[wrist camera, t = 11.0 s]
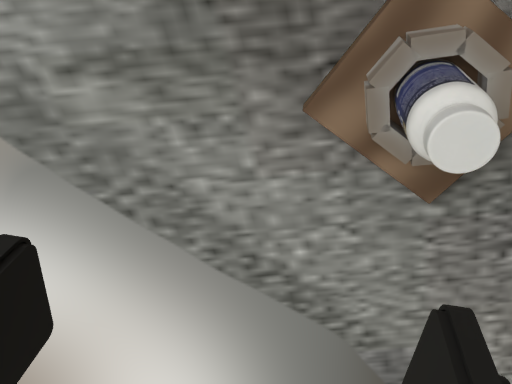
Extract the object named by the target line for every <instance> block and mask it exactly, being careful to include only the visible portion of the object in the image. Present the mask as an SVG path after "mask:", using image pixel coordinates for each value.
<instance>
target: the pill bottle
mask: <svg viewBox="0 0 512 384" xmlns="http://www.w3.org/2000/svg"><path fill="white" fill-rule="evenodd" d="M394 105H395V109H396V112H397V114H398V117H399V119H400V122H401V125H402V127H403V129H404V131H405V134H406V136H407V139H408V141H409V143H410V145H411V146H412V148H413V149H414V150H415V152H416V153H417V154H419V155H420V156H421V157H423V158H424V159H426V160H428V161H431V162H432V163H433V164H434V165H435V166H436V167H438V168H439V169H441V170H443V171H445V172H448V173H455V174H461V173H468V172H471V171H474V170H477V169H479V168H480V167H482V166H484V165H485V164H486V163H487V162H489V161H490V160H491V159H492V157H493V156H494V155H495V153H496V152H497V150H498V147H499V144H500V130H499V127H498V125H497V122H498V115H497V109H496V106H495V104H494V102H493V100H492V99H491V98H490V96H489V95H488V94H487V93H486V92H485V91H484V90H483V89H482V88H480V87H479V86H478V85H477V84H476V83H475V82H474V81H473V80H472V79H471V78H470V77H469V76H467V75H466V74H465V73H464V72H463V71H462V70H461V69H460V68H459V67H458V66H457V65H455V64H454V63H452V62H449V61H446V60H442V59H429V60H425V61H421V62H419V63H417V64H415V65H413V66H412V67H411V68H410V69H409V70H408V71H407V72H406V73H405V74H404V76H403V77H402V78H401V79H400V80H399V81H398V83H397V85H396V88H395V92H394Z"/></svg>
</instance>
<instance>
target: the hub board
mask: <svg viewBox="0 0 512 384" xmlns="http://www.w3.org/2000/svg"><path fill="white" fill-rule="evenodd" d="M429 59H442V60H446V61H449V62H452V63H454V64H455V65H457V66H458V67H459V68H460V69H461V70H462V71H463V72H464V73H465V74H466V75H467V76H469V77H470V78H471V79H472V80H473V81H474V82H475V83H476V84H477V85H478V86H479V87H480V88H482V89H483V90H484V91H485V92H486V93H487V94H488V95H489V96H490V98H491V99H492V100H493V102H494V104H495V106H496V109H497V115H498V122H497V125H498V127H499V130H500V142H501V141H502V140H503V139H504V138H505V137H507V136H508V135H509V134H510V133H511V132H512V19H510V18H509V17H508V16H507V15H506V14H505V13H504V12H503V11H501V10H500V9H499V8H498V7H497V6H496V5H495V4H494V3H492V2H491V1H490V0H387V1H386V2H385V4H384V5H383V6H382V7H381V9H380V10H379V11H378V12H377V14H376V15H375V16H374V17H373V19H372V20H371V21H370V22H369V24H368V25H367V26H366V27H365V29H364V30H363V31H362V32H361V34H360V35H359V36H358V37H357V39H356V40H355V41H354V42H353V44H352V45H351V46H350V47H349V49H348V50H347V51H346V52H345V54H344V55H343V56H342V57H341V59H340V60H339V61H338V62H337V64H336V65H335V66H334V67H333V69H332V70H331V71H330V72H329V74H328V75H327V76H326V77H325V79H324V80H323V81H322V82H321V84H320V85H319V86H318V87H317V89H316V90H315V91H314V92H313V94H312V95H311V96H310V97H309V99H308V100H307V101H306V102H305V104H304V105H303V111H304V112H305V113H306V114H308V115H309V116H311V117H312V118H313V119H315V120H316V121H317V122H319V123H320V124H321V125H323V126H324V127H325V128H327V129H328V130H330V131H331V132H332V133H334V134H335V135H336V136H338V137H339V138H340V139H342V140H343V141H344V142H346V143H347V144H349V145H350V146H351V147H353V148H354V149H355V150H357V151H358V152H359V153H361V154H362V155H363V156H365V157H366V158H368V159H369V160H370V161H372V162H373V163H374V164H376V165H377V166H378V167H380V168H381V169H382V170H384V171H385V172H386V173H388V174H389V175H391V176H392V177H393V178H395V179H396V180H397V181H399V182H400V183H401V184H403V185H404V186H405V187H407V188H408V189H410V190H411V191H412V192H414V193H415V194H416V195H418V196H419V197H420V198H422V199H423V200H424V201H426V202H427V203H429V204H430V203H431V202H432V201H433V200H434V199H435V198H436V197H438V196H439V195H440V194H441V193H442V192H443V191H445V190H446V189H447V188H448V187H449V186H450V185H451V184H453V183H454V182H455V181H456V180H457V179H458V178H459V177H461V176H462V175H463V174H464V173H461V174H455V173H448V172H445V171H443V170H441V169H439V168H438V167H436V166H435V165H434V164H433V163H432V162H431V161H428V160H426V159H424V158H423V157H421V156H420V155H419V154H417V153H416V152H415V150H414V149H413V148H412V146H411V145H410V143H409V141H408V139H407V136H406V134H405V131H404V129H403V127H402V125H401V122H400V119H399V117H398V114H397V112H396V109H395V105H394V92H395V88H396V85H397V83H398V81H399V80H400V79H401V78H402V77H403V76H404V74H405V73H406V72H407V71H408V70H409V69H410V68H411V67H412V66H413V65H415V64H417V63H419V62H421V61H425V60H429Z"/></svg>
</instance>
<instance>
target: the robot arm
mask: <svg viewBox="0 0 512 384" xmlns="http://www.w3.org/2000/svg"><path fill="white" fill-rule="evenodd" d="M52 329H53V320H52V315H51V311H50V306H49V302H48V297H47V293H46V289H45V284H44V280H43V275H42V272H41V267H40V262H39V258H38V253H37V249H36V247H35V246H34V245H31V242H30V240H29V239H28V238H25V237H19V236H12V235H6V234H2V235H0V384H17V382H18V381H19V380H20V378H21V377H22V375H23V374H24V372H25V371H26V370H27V368H28V367H29V366H30V364H31V363H32V361H33V360H34V358H35V357H36V355H37V354H38V353H39V351H40V350H41V349H42V347H43V346H44V344H45V343H46V341H47V340H48V339H49V337H50V335H51V333H52ZM402 384H510V382H509V381H508V380H507V379H506V378H505V377H503V376H500V375H498V372H497V370H496V367H495V365H494V362H493V360H492V357H491V355H490V352H489V350H488V347H487V345H486V342H485V340H484V337H483V334H482V332H481V329H480V327H479V324H478V322H477V319H476V317H475V314H474V313H473V311H472V310H471V309H470V308H464V307H458V306H452V305H445V304H443V305H442V306H441V307H440V308H439V310H435V309H433V310H432V311H431V313H430V315H429V317H428V320H427V322H426V325H425V327H424V330H423V332H422V335H421V337H420V340H419V342H418V345H417V347H416V350H415V352H414V355H413V357H412V360H411V362H410V365H409V367H408V370H407V372H406V375H405V377H404V380H403V382H402Z"/></svg>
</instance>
